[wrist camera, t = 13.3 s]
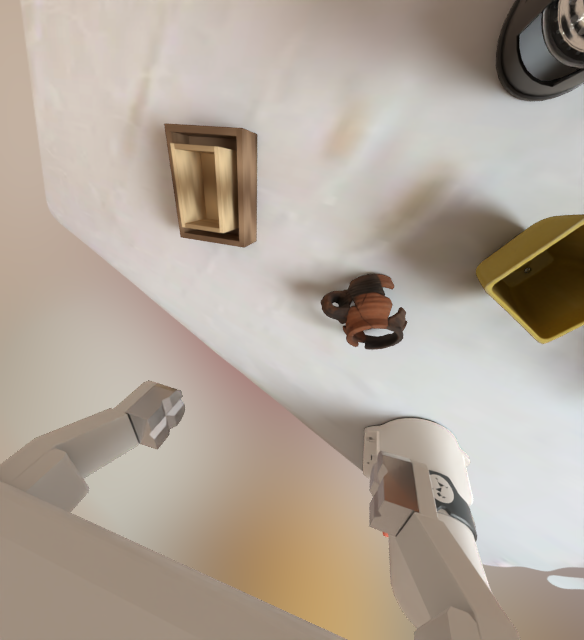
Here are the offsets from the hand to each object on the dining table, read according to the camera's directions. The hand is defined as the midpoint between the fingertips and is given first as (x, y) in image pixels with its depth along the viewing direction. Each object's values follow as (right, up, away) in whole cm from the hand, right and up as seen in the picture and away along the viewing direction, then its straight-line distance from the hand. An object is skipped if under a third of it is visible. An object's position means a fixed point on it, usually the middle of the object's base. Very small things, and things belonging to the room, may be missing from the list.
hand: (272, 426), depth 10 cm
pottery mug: (+12, +7, +27) cm, 31 cm away
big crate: (-9, +23, +25) cm, 35 cm away
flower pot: (+27, +11, +20) cm, 36 cm away
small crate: (-9, +22, +24) cm, 34 cm away
